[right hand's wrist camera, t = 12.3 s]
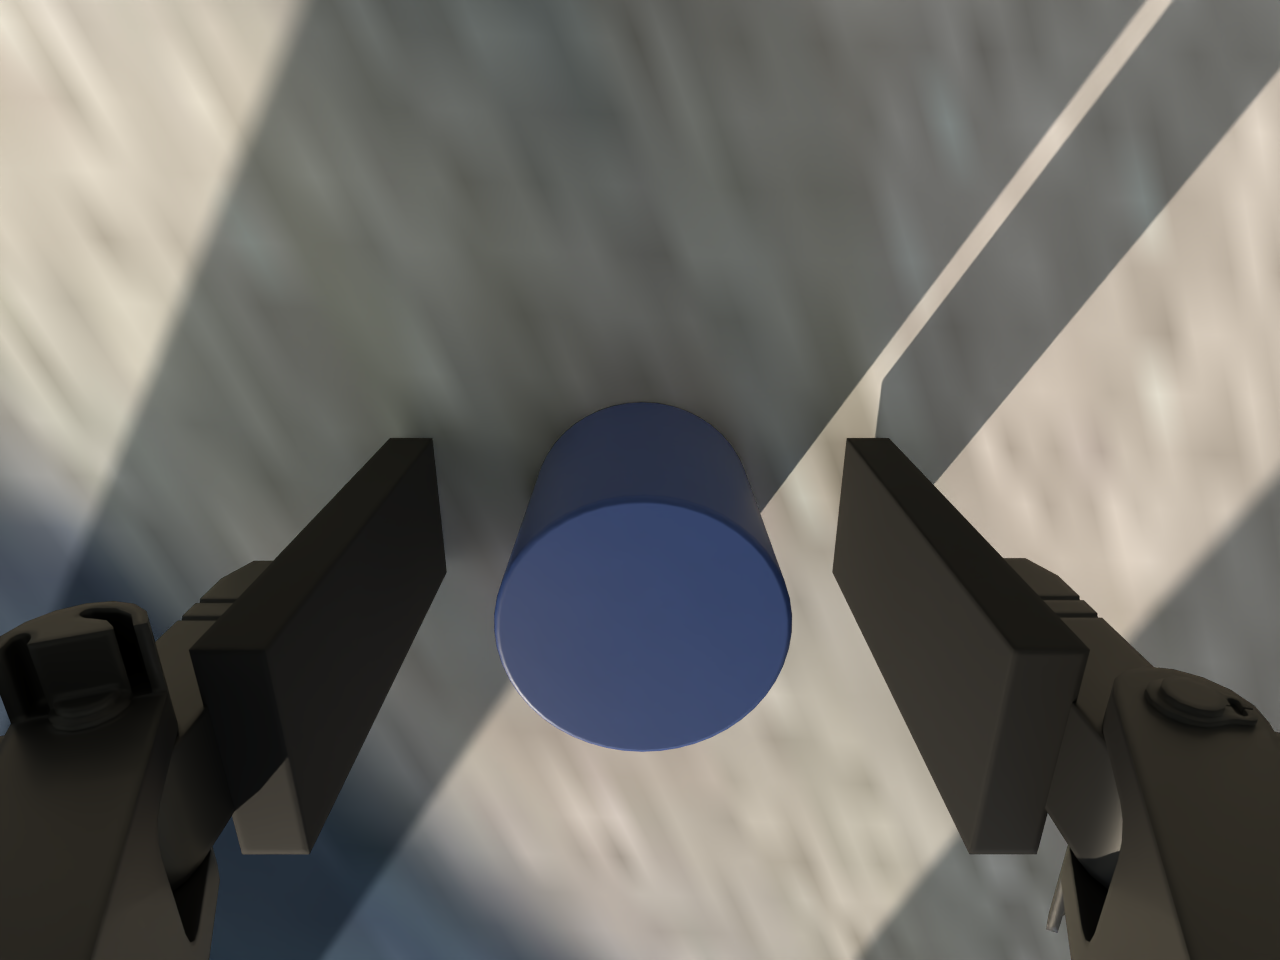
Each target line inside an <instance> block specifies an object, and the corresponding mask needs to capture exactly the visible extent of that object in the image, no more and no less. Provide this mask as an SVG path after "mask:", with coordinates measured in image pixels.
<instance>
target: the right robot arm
mask: <svg viewBox="0 0 1280 960" xmlns="http://www.w3.org/2000/svg"><path fill="white" fill-rule="evenodd" d="M446 572H447V571H446V562H445V553H444V543H443V534H442V525H441V515H440V506H439V497H438V487H437V478H436V469H435V459H434V450H433V441H432V438H390V439H389V440H388V441H387V442H386V443H385V444H384V445H383V446H382V447H381V448H380V449H379V450H378V451H377V452H376V454H375V455H374V456H373V457H372V458H371V459H370V460H369V461H368V462H367V463H366V464H365V465H364V466H363V467H362V468H361V469H360V470H359V471H358V472H357V473H356V475H355V476H354V477H353V478H352V479H351V480H350V481H349V482H348V483H347V484H346V485H345V486H344V487H343V488H342V489H341V490H340V491H339V492H338V493H337V494H336V496H335V497H334V498H333V499H332V500H331V501H330V502H329V503H328V504H327V505H326V506H325V507H324V508H323V509H322V510H321V511H320V512H319V513H318V514H317V515H316V517H315V518H314V519H313V520H312V521H311V522H310V523H309V524H308V525H307V526H306V527H305V528H304V529H303V530H302V531H301V532H300V533H299V534H298V535H297V537H296V538H295V539H294V540H293V541H292V542H291V543H290V544H289V545H288V546H287V547H286V548H285V549H284V550H283V551H282V552H281V553H280V554H279V555H278V556H277V558H276V559H275V560H274V561H253V562H251V563H249V564H247V565H245V566H244V567H242V568H240V569H238V570H236V571H234V572H233V573H231V574H229V575H227V576H225V577H223V578H221V579H220V580H219V581H218V582H217V583H216V584H215V585H214V586H213V587H212V588H211V589H210V590H209V591H208V592H207V593H206V594H205V595H204V596H203V597H202V598H201V599H200V603H195V604H194V605H193V606H192V607H191V608H190V609H189V610H188V611H187V612H186V613H185V614H184V615H183V616H182V621H177V622H176V623H175V624H174V625H173V626H172V627H171V628H169V629H168V630H167V631H166V632H165V633H164V634H163V635H162V636H161V637H160V638H159V639H158V640H157V641H156V642H155V640H154V636H153V633H152V629H151V626H150V622H149V618H148V615H147V611H145V610H144V609H142V608H140V607H139V606H137V605H136V604H132V603H124V602H116V601H109V602H98V603H86V604H82V605H78V606H73V607H69V608H65V609H61V610H56V611H53V612H51V613H48V614H46V615H43V616H40V617H38V618H35V619H32V620H30V621H27V622H25V623H23V624H21V625H19V626H18V627H16V628H14V629H12V630H11V631H9V632H7V633H5V634H4V635H2V636H0V696H1V698H2V701H3V704H4V706H5V709H6V711H7V714H8V717H9V719H10V722H11V725H10V727H9V728H8V730H7V732H6V734H5V735H4V736H0V960H209V956H210V949H211V941H212V934H213V926H214V919H215V911H216V904H217V896H218V889H219V881H220V878H219V872H218V866H217V861H216V858H215V854H214V851H213V847H212V846H213V845H214V843H215V841H216V840H217V838H218V837H219V835H220V834H221V832H222V830H223V829H224V827H225V826H226V824H227V823H228V821H229V819H230V818H231V816H232V817H233V821H234V825H235V829H236V832H237V836H238V840H239V844H240V848H241V852H242V854H310V852H311V850H312V848H313V846H314V844H315V842H316V840H317V838H318V836H319V834H320V831H321V829H322V827H323V825H324V823H325V821H326V819H327V817H328V815H329V813H330V811H331V809H332V807H333V805H334V803H335V801H336V799H337V797H338V794H339V792H340V790H341V788H342V786H343V784H344V782H345V780H346V778H347V776H348V774H349V772H350V770H351V768H352V766H353V764H354V762H355V759H356V757H357V755H358V753H359V751H360V749H361V747H362V745H363V743H364V741H365V739H366V737H367V735H368V733H369V731H370V729H371V727H372V725H373V722H374V720H375V718H376V716H377V714H378V712H379V710H380V708H381V706H382V704H383V702H384V700H385V698H386V696H387V694H388V692H389V690H390V688H391V685H392V683H393V681H394V679H395V677H396V675H397V673H398V671H399V669H400V667H401V665H402V663H403V661H404V659H405V657H406V655H407V653H408V650H409V648H410V646H411V644H412V642H413V640H414V638H415V636H416V634H417V632H418V630H419V628H420V626H421V624H422V622H423V620H424V618H425V616H426V613H427V611H428V609H429V607H430V605H431V603H432V601H433V599H434V597H435V595H436V593H437V591H438V589H439V587H440V585H441V583H442V581H443V579H444V576H445V574H446ZM833 574H834V576H835V578H836V580H837V582H838V585H839V587H840V589H841V591H842V593H843V595H844V597H845V599H846V601H847V603H848V605H849V607H850V609H851V611H852V613H853V615H854V617H855V620H856V622H857V624H858V626H859V628H860V630H861V632H862V634H863V636H864V638H865V640H866V642H867V644H868V646H869V648H870V650H871V652H872V654H873V657H874V659H875V661H876V663H877V665H878V667H879V669H880V671H881V673H882V675H883V677H884V679H885V681H886V683H887V685H888V687H889V689H890V691H891V694H892V696H893V698H894V700H895V702H896V704H897V706H898V708H899V710H900V712H901V714H902V716H903V718H904V720H905V722H906V724H907V726H908V729H909V731H910V733H911V735H912V737H913V739H914V741H915V743H916V745H917V747H918V749H919V751H920V753H921V755H922V757H923V759H924V761H925V763H926V766H927V768H928V770H929V772H930V774H931V776H932V778H933V780H934V782H935V784H936V786H937V788H938V790H939V792H940V794H941V796H942V798H943V801H944V803H945V805H946V807H947V809H948V811H949V813H950V815H951V817H952V819H953V821H954V823H955V825H956V827H957V829H958V831H959V833H960V835H961V838H962V840H963V842H964V844H965V846H966V848H967V850H968V852H969V854H1037V852H1038V848H1039V844H1040V840H1041V836H1042V832H1043V829H1044V825H1045V821H1046V817H1047V813H1048V814H1049V815H1050V817H1051V818H1052V820H1053V822H1054V823H1055V825H1056V826H1057V828H1058V829H1059V831H1060V833H1061V834H1062V836H1063V837H1064V839H1065V840H1066V842H1067V843H1068V847H1067V851H1066V854H1065V858H1064V861H1063V865H1062V868H1061V872H1060V876H1059V879H1058V883H1057V886H1056V890H1055V893H1054V897H1053V901H1052V904H1051V908H1050V911H1049V916H1048V922H1047V928H1046V929H1047V930H1050V931H1054V932H1057V933H1058V930H1059V926H1060V923H1061V919H1062V916H1063V915H1065V916H1066V924H1067V931H1068V939H1069V946H1070V954H1071V960H1280V733H1279V732H1274V730H1273V729H1272V727H1271V725H1270V723H1269V722H1268V721H1267V720H1266V718H1265V717H1264V716H1263V715H1262V714H1261V713H1260V712H1259V710H1258V709H1257V708H1256V707H1255V706H1254V705H1252V704H1251V703H1250V702H1248V701H1247V700H1245V699H1244V698H1242V697H1241V696H1239V695H1238V694H1236V693H1235V692H1233V691H1232V690H1230V689H1228V688H1225V687H1223V686H1221V685H1219V684H1216V683H1214V682H1212V681H1210V680H1207V679H1205V678H1203V677H1200V676H1196V675H1192V674H1189V673H1185V672H1181V671H1178V670H1174V669H1166V668H1156V667H1153V666H1152V665H1151V664H1150V663H1149V662H1148V661H1147V660H1146V659H1145V658H1144V657H1143V656H1142V655H1141V654H1139V653H1138V652H1137V651H1136V650H1135V649H1134V648H1133V647H1132V646H1131V645H1130V644H1129V643H1128V642H1127V641H1126V640H1125V639H1124V638H1123V637H1122V636H1121V635H1120V634H1119V633H1117V632H1116V631H1115V630H1114V629H1113V628H1112V627H1111V626H1110V625H1109V624H1108V623H1107V622H1106V621H1105V620H1104V619H1103V618H1098V616H1097V612H1095V611H1094V610H1093V609H1092V608H1091V607H1090V606H1089V605H1088V604H1087V603H1086V602H1085V601H1084V600H1080V599H1079V595H1078V594H1077V593H1076V592H1075V591H1073V590H1072V589H1071V588H1070V587H1069V586H1068V585H1067V584H1066V583H1065V582H1064V581H1063V580H1062V579H1061V578H1060V577H1059V576H1058V575H1056V574H1054V573H1052V572H1050V571H1048V570H1046V569H1045V568H1043V567H1041V566H1039V565H1037V564H1035V563H1033V562H1031V561H1030V560H1028V559H1026V558H1002V557H1001V555H1000V554H999V553H998V552H997V551H996V550H995V549H994V548H993V547H992V546H991V545H990V544H989V543H988V542H987V541H986V540H985V539H984V538H983V537H982V536H981V534H980V533H979V532H978V531H977V530H976V529H975V528H974V527H973V526H972V525H971V524H970V523H969V522H968V521H967V520H966V519H965V518H964V517H963V516H962V514H961V513H960V512H959V511H958V510H957V509H956V508H955V507H954V506H953V505H952V504H951V503H950V502H949V501H948V500H947V499H946V498H945V497H944V496H943V495H942V493H941V492H940V491H939V490H938V489H937V488H936V487H935V486H934V485H933V484H932V483H931V482H930V481H929V480H928V479H927V478H926V477H925V476H924V475H923V473H922V472H921V471H920V470H919V469H918V468H917V467H916V466H915V465H914V464H913V463H912V462H911V461H910V460H909V459H908V458H907V457H906V456H905V455H904V454H903V452H902V451H901V450H900V449H899V448H898V447H897V446H896V445H895V444H894V443H893V442H892V441H891V440H890V439H889V438H847V441H846V450H845V459H844V469H843V478H842V487H841V497H840V506H839V516H838V525H837V534H836V544H835V553H834V562H833Z"/></svg>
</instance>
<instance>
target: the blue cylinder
mask: <svg viewBox="0 0 1280 960" xmlns="http://www.w3.org/2000/svg"><path fill="white" fill-rule="evenodd" d="M494 631H495V638H496V644H497V649H498V652H499V655H500V659H501V662H502V664H503V667H504V669H505V671H506V673H507V675H508V677H509V679H510V681H511V683H512V684H513V686H514V687H515V689H516V690H517V692H518V693H519V695H520V696H521V697H522V698H523V699H524V700H525V701H526V703H527V704H528V705H529V706H530V707H531V708H532V709H533V710H534V711H535V712H537V713H538V714H539V715H540V716H541V717H542V718H543V719H545V720H546V721H548V722H549V723H551V724H552V725H553V726H555V727H556V728H558V729H560V730H562V731H564V732H565V733H567V734H569V735H571V736H573V737H575V738H578V739H581V740H583V741H586V742H588V743H591V744H595V745H598V746H602V747H606V748H611V749H618V750H624V751H640V752H644V751H662V750H668V749H675V748H680V747H684V746H687V745H691V744H695V743H698V742H700V741H703V740H705V739H708V738H711V737H713V736H715V735H717V734H719V733H720V732H722V731H724V730H726V729H728V728H729V727H731V726H732V725H734V724H735V723H737V722H738V721H740V720H741V719H742V718H744V717H745V716H746V715H747V714H748V713H749V712H751V711H752V710H753V709H754V708H755V707H756V706H757V705H758V704H759V702H760V701H761V700H762V699H763V698H764V697H765V696H766V694H767V693H768V692H769V690H770V689H771V687H772V686H773V684H774V683H775V681H776V679H777V677H778V675H779V673H780V671H781V669H782V667H783V665H784V662H785V659H786V656H787V653H788V650H789V645H790V639H791V633H792V612H791V605H790V598H789V595H788V591H787V588H786V584H785V581H784V578H783V576H782V573H781V570H780V567H779V565H778V562H777V559H776V556H775V554H774V551H773V548H772V545H771V542H770V540H769V537H768V534H767V531H766V529H765V526H764V523H763V520H762V517H761V515H760V512H759V509H758V506H757V504H756V501H755V498H754V495H753V492H752V490H751V487H750V484H749V481H748V479H747V476H746V473H745V470H744V468H743V466H742V463H741V461H740V459H739V457H738V455H737V454H736V452H735V451H734V449H733V448H732V446H731V445H730V443H729V442H728V441H727V440H726V439H725V438H724V436H723V435H722V434H721V433H720V432H718V431H717V430H716V429H715V428H714V427H713V426H712V425H710V424H709V423H707V422H706V421H704V420H703V419H701V418H700V417H698V416H696V415H694V414H692V413H689V412H687V411H685V410H682V409H679V408H676V407H673V406H669V405H664V404H659V403H646V402H640V403H626V404H621V405H616V406H612V407H609V408H606V409H602V410H599V411H597V412H595V413H593V414H591V415H589V416H587V417H585V418H584V419H582V420H580V421H579V422H577V423H576V424H574V425H573V426H572V427H571V428H570V429H568V430H567V431H566V432H565V433H564V434H563V435H562V436H561V437H560V438H559V439H558V441H557V442H556V443H555V444H554V445H553V447H552V448H551V450H550V451H549V453H548V454H547V456H546V458H545V460H544V462H543V464H542V466H541V469H540V472H539V475H538V478H537V481H536V483H535V486H534V489H533V492H532V495H531V498H530V501H529V504H528V507H527V510H526V513H525V516H524V518H523V521H522V524H521V527H520V530H519V533H518V536H517V539H516V542H515V545H514V548H513V551H512V553H511V556H510V559H509V562H508V565H507V568H506V571H505V574H504V577H503V580H502V583H501V586H500V589H499V592H498V595H497V600H496V607H495V613H494Z"/></svg>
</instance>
